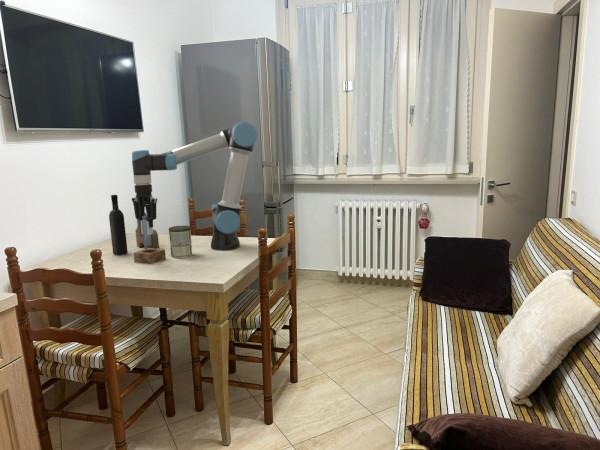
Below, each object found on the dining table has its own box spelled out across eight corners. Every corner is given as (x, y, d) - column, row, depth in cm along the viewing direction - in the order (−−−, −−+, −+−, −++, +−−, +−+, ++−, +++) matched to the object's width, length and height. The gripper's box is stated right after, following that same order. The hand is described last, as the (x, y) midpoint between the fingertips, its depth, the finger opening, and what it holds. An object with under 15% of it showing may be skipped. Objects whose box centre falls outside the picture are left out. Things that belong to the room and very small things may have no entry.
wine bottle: (122, 251, 223) (116, 194, 217) (128, 253, 219) (122, 194, 214) (112, 254, 219) (105, 195, 213) (118, 255, 215) (111, 196, 210)
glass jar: (167, 255, 212) (164, 227, 210) (185, 251, 220) (183, 224, 217) (177, 259, 205) (175, 230, 203) (196, 255, 212) (194, 227, 210)
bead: (165, 258, 208) (164, 249, 207) (151, 263, 199) (150, 254, 198) (149, 256, 212) (148, 247, 211) (134, 262, 203) (133, 252, 202)
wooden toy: (160, 248, 229) (155, 201, 224) (147, 250, 225) (143, 202, 220) (147, 243, 240) (143, 199, 235) (135, 245, 236) (130, 200, 231)
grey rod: (153, 244, 204) (150, 215, 202) (148, 246, 202) (145, 216, 199) (148, 244, 206) (145, 215, 203) (143, 245, 203) (140, 216, 200)
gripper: (162, 183, 198) (166, 233, 203) (135, 183, 205) (140, 231, 209) (150, 185, 192) (155, 236, 196) (123, 184, 198) (128, 234, 202)
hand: (147, 233), depth 203 cm, fingers closed on grey rod, 3 cm apart
